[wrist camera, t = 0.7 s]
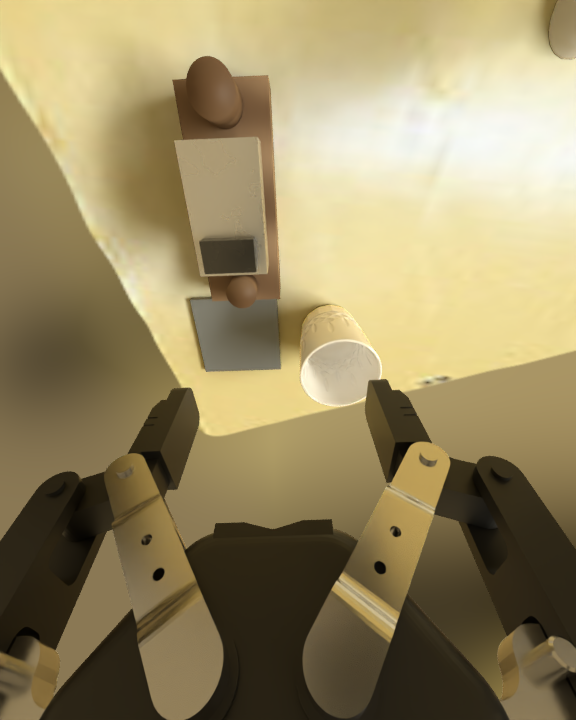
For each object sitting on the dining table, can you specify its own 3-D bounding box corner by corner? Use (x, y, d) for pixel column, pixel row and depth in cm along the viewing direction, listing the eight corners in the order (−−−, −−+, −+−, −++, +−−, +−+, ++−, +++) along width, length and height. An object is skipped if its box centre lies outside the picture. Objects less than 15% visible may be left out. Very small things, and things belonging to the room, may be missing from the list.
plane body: (187, 92, 25) (148, 58, 18) (270, 89, 25) (264, 53, 18) (219, 288, 34) (201, 319, 27) (280, 286, 34) (279, 316, 27)
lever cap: (186, 144, 22) (167, 138, 18) (260, 141, 22) (255, 134, 18) (208, 266, 27) (196, 281, 23) (269, 264, 27) (266, 278, 23)
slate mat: (191, 298, 34) (190, 300, 34) (276, 295, 34) (276, 296, 34) (206, 369, 40) (205, 371, 39) (280, 366, 40) (280, 369, 39)
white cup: (290, 350, 38) (291, 399, 30) (305, 293, 34) (312, 331, 26) (347, 361, 39) (364, 412, 31) (369, 307, 35) (395, 348, 27)
